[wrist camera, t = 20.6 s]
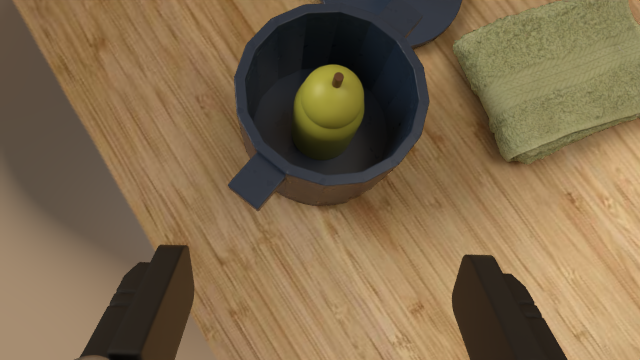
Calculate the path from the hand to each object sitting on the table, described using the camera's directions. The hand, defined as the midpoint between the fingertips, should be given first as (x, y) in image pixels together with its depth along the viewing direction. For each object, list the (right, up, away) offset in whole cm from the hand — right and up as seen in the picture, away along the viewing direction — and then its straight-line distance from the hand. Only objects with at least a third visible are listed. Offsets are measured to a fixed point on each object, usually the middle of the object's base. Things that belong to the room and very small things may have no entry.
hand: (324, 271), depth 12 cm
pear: (0, +7, +22) cm, 23 cm away
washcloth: (+21, +12, +26) cm, 36 cm away
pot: (0, +7, +23) cm, 24 cm away
